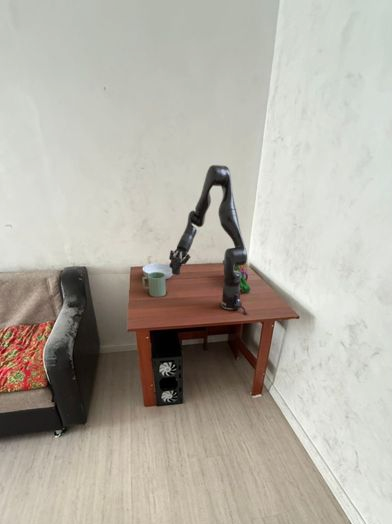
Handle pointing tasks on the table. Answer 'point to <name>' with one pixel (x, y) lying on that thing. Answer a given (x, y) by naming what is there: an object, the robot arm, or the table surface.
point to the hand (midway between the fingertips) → (174, 268)
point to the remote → (175, 265)
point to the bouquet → (242, 278)
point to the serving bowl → (158, 269)
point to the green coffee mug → (156, 284)
